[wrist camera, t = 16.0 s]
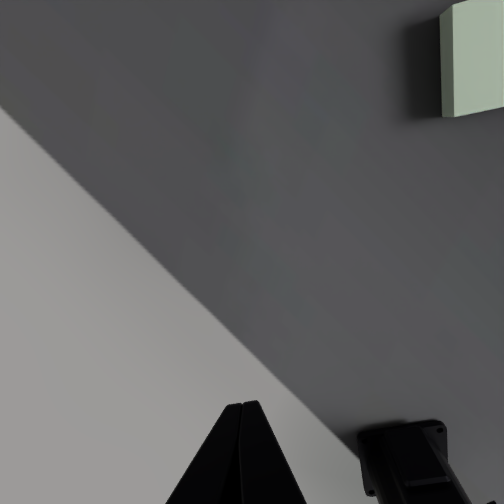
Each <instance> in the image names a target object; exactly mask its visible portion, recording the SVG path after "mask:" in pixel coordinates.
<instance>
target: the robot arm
mask: <svg viewBox="0 0 504 504" xmlns="http://www.w3.org/2000/svg"><path fill="white" fill-rule="evenodd" d="M357 443H358V450H359V457H360V464H361V471H362V478H363V485H364V490H365V493H366V495H367V496H370V497H373V496H376V497H377V500H378V503H379V504H472V503H471V501H470V500H469V498H468V496H467V494H466V493H465V491H464V489H463V488H462V486H461V484H460V482H459V481H458V479H457V477H456V476H455V474H454V472H453V470H452V469H451V467H450V465H449V464H448V453H447V428H446V426H445V425H444V423H443V422H442V421H432V422H426V423H419V424H412V425H405V426H399V427H392V428H385V429H378V430H372V431H365V432H361V433H359V434H358V435H357ZM165 504H307V503H306V501H305V499H304V497H303V495H302V492H301V490H300V488H299V486H298V484H297V482H296V480H295V478H294V475H293V473H292V471H291V469H290V467H289V465H288V463H287V461H286V459H285V456H284V454H283V452H282V450H281V448H280V446H279V444H278V442H277V439H276V437H275V435H274V433H273V431H272V429H271V427H270V425H269V422H268V420H267V418H266V416H265V414H264V412H263V410H262V407H261V405H260V403H259V402H258V401H257V400H254V401H248V402H244V403H243V404H241V403H236V404H229V405H227V406H226V407H225V409H224V410H223V412H222V413H221V415H220V417H219V418H218V420H217V422H216V423H215V425H214V426H213V428H212V430H211V431H210V433H209V434H208V436H207V438H206V439H205V441H204V443H203V444H202V446H201V447H200V449H199V451H198V452H197V454H196V455H195V457H194V458H193V460H192V462H191V463H190V465H189V467H188V468H187V470H186V471H185V473H184V475H183V476H182V478H181V479H180V481H179V483H178V484H177V486H176V488H175V489H174V491H173V492H172V494H171V495H170V497H169V499H168V500H167V502H166V503H165ZM486 504H496V502H495V501H491V502H489V503H486Z"/></svg>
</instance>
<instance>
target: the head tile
mask: <svg viewBox="0 0 504 504" xmlns="http://www.w3.org/2000/svg"><path fill="white" fill-rule="evenodd" d="M439 17H440V55H441V93H442V117H457V116H462V115H467V114H471V113H476V112H481V111H486V110H491V109H495V108H500V107H504V0H468V1H464V2H461V3H457V4H454V5H452V6H451V7H449V8H448V9H447V10H446V11H445V12H443V13H442V14H441V15H440V16H439Z"/></svg>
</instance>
